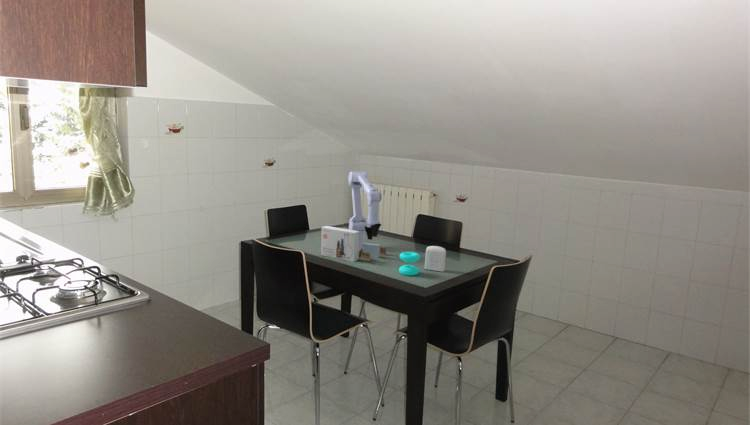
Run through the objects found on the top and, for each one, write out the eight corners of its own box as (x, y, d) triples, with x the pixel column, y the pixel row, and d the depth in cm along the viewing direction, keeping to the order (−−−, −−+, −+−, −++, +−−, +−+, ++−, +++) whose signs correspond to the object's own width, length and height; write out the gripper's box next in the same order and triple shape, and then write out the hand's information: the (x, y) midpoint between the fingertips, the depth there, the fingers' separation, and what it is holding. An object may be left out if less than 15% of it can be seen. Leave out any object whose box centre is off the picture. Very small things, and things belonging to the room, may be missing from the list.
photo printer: (445, 270, 273) (446, 246, 271) (443, 272, 269) (445, 248, 267) (425, 267, 276) (426, 244, 274) (423, 269, 272) (425, 246, 270)
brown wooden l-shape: (363, 251, 303) (363, 244, 303) (385, 254, 299) (386, 247, 298) (355, 256, 292) (355, 249, 292) (378, 259, 288) (379, 252, 287)
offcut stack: (362, 258, 289) (362, 250, 288) (371, 259, 287) (371, 251, 286) (360, 259, 286) (361, 251, 285) (369, 260, 285) (369, 252, 284)
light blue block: (364, 254, 296) (364, 242, 295) (379, 257, 293) (380, 244, 292) (362, 256, 294) (362, 243, 292) (377, 258, 291) (378, 245, 289)
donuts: (421, 252, 267) (419, 257, 257) (419, 271, 269) (418, 277, 259) (401, 250, 269) (398, 255, 259) (400, 269, 270) (397, 275, 261)
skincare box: (320, 255, 291) (320, 227, 288) (325, 253, 295) (326, 225, 293) (353, 262, 281) (355, 232, 278) (359, 259, 286) (360, 230, 283)
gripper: (375, 216, 281) (374, 241, 284) (384, 212, 295) (383, 236, 297) (363, 214, 283) (362, 240, 286) (372, 210, 297) (371, 234, 299)
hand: (372, 238), depth 292 cm, fingers open, 7 cm apart
